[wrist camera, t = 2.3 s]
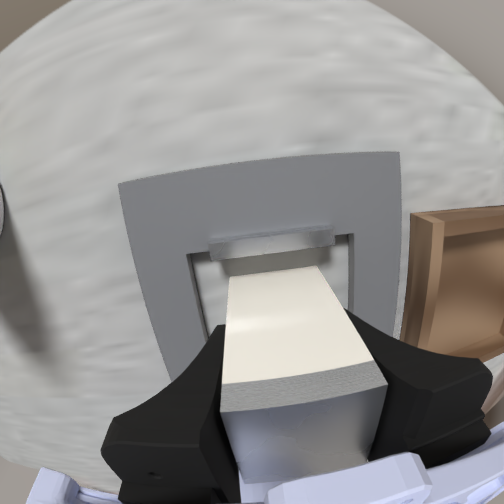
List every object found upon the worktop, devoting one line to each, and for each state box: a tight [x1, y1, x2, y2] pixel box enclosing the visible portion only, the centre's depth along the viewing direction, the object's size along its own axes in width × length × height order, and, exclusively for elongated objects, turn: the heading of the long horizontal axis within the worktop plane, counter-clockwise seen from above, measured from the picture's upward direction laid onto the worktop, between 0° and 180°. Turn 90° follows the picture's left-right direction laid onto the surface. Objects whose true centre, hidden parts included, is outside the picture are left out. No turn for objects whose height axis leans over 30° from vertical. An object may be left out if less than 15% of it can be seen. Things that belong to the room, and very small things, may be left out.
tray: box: [400, 205, 504, 363], centre depth 14 cm, size 10×10×2 cm
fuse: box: [220, 266, 388, 484], centre depth 11 cm, size 4×4×8 cm
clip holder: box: [118, 152, 402, 382], centre depth 14 cm, size 14×12×2 cm
